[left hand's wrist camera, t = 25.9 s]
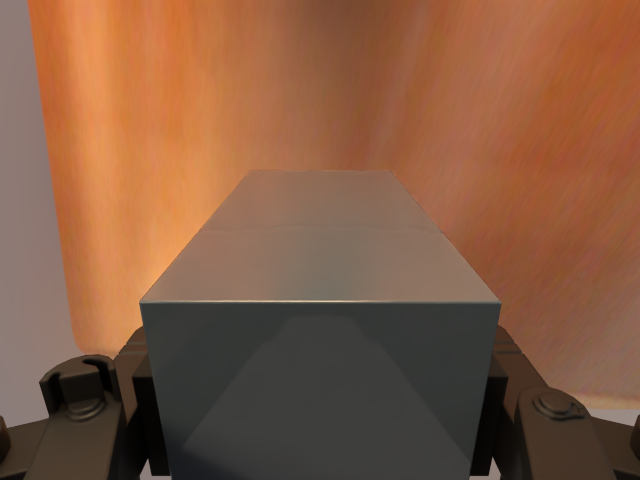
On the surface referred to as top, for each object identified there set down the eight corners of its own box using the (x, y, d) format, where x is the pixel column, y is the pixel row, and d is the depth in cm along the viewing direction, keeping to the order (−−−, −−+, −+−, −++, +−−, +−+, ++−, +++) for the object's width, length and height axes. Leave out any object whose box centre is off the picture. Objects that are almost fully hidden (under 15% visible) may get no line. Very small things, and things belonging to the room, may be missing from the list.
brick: (258, 317, 20) (188, 579, 9) (249, 169, 17) (137, 302, 7) (381, 317, 20) (451, 579, 9) (391, 170, 17) (502, 301, 7)
